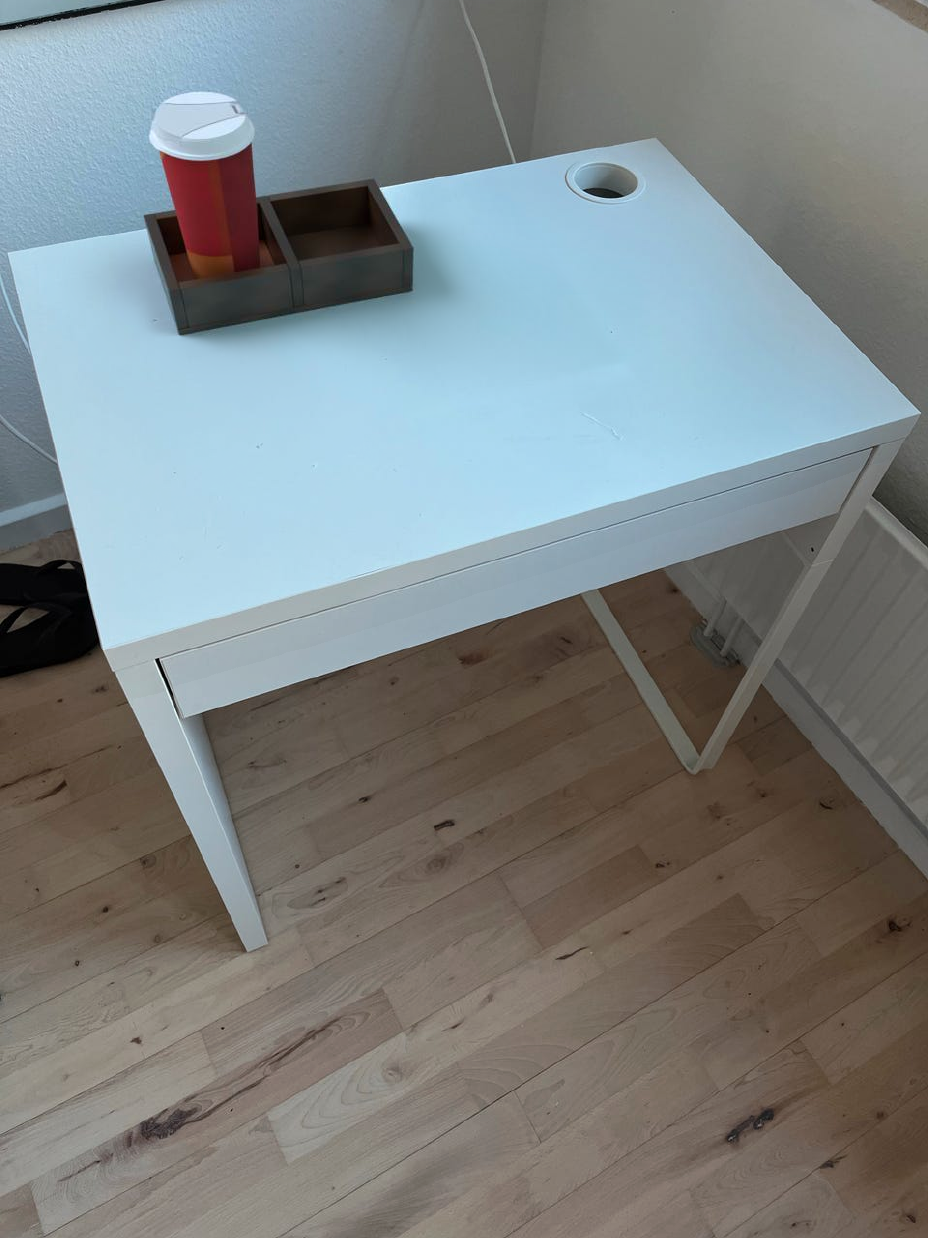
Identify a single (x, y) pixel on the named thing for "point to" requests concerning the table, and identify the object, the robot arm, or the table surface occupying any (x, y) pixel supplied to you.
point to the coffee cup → (210, 179)
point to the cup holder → (291, 258)
